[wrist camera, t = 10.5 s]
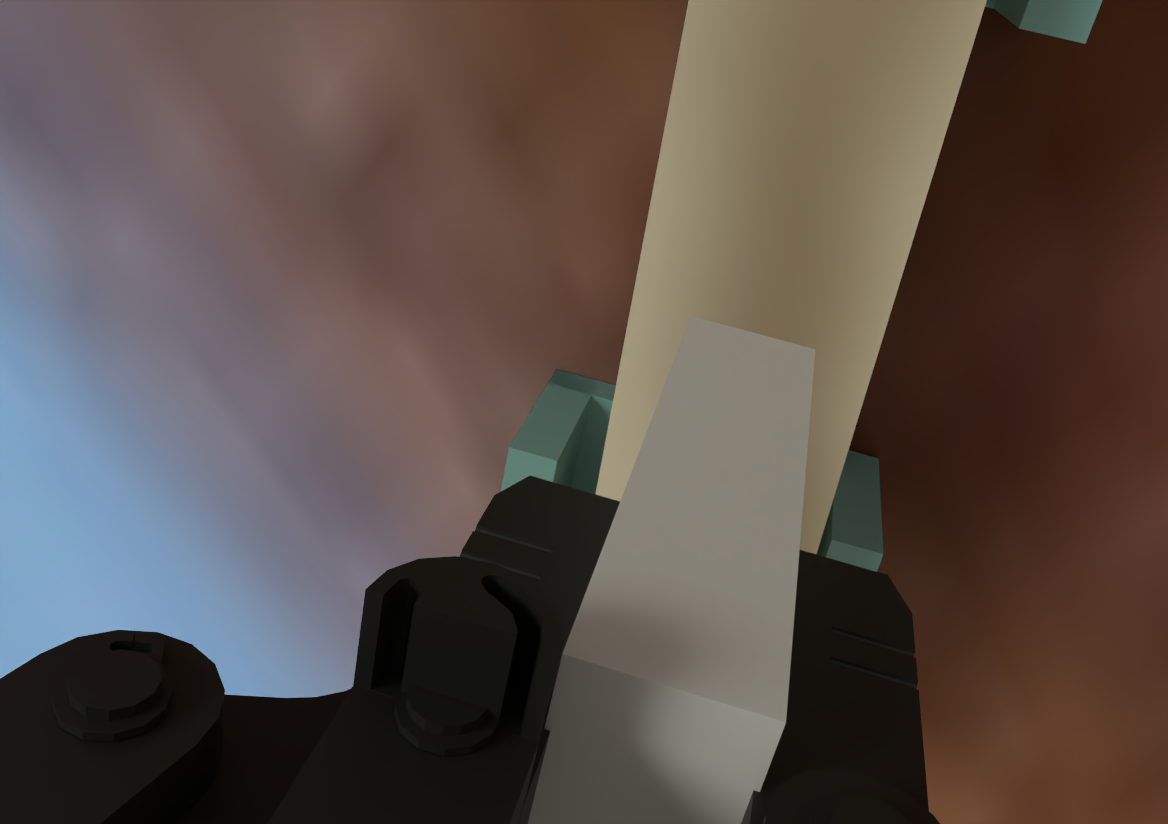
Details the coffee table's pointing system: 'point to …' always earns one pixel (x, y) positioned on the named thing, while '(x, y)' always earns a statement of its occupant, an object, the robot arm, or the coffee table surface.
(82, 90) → the coffee table surface
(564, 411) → the cap
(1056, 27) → the cap
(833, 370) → the beige long bar
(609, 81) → the coffee table surface
